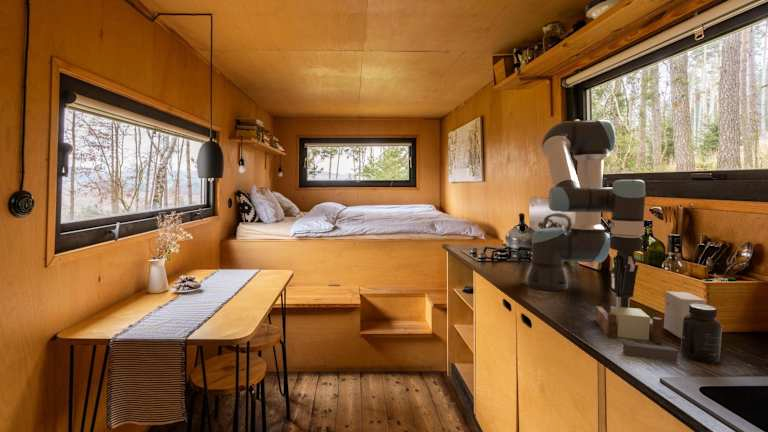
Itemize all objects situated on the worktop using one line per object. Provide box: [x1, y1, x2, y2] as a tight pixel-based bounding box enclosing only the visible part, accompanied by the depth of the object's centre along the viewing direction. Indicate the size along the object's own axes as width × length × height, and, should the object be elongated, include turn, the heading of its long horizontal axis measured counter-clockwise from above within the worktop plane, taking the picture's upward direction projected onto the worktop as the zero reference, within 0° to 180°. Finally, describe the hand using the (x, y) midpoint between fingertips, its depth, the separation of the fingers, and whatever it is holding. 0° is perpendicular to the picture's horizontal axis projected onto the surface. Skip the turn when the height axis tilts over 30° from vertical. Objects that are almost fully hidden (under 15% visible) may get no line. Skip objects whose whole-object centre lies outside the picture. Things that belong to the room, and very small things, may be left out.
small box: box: [663, 290, 707, 339], centre depth 98 cm, size 8×6×10 cm
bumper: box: [622, 341, 679, 363], centre depth 84 cm, size 2×10×2 cm, turn 72°
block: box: [609, 305, 651, 341], centre depth 98 cm, size 7×7×6 cm
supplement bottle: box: [680, 303, 723, 365], centre depth 84 cm, size 7×7×12 cm
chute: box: [594, 305, 663, 344], centre depth 100 cm, size 14×12×6 cm
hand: (622, 319), depth 103 cm, fingers closed
